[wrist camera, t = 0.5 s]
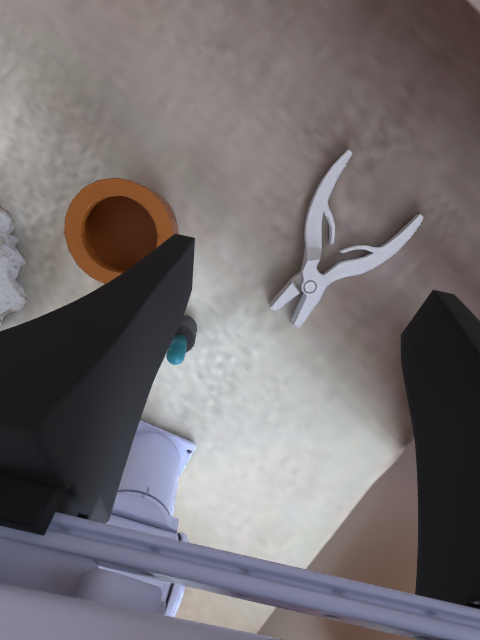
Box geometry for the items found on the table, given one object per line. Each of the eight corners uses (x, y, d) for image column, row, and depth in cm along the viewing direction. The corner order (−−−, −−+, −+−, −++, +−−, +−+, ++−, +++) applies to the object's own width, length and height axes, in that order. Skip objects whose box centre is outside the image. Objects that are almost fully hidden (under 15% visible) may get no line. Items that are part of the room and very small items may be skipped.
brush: (189, 344, 36) (182, 379, 28) (165, 333, 35) (151, 366, 28) (201, 322, 35) (197, 352, 28) (177, 310, 35) (166, 337, 27)
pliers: (431, 219, 32) (323, 347, 35) (421, 219, 34) (319, 342, 37) (350, 145, 30) (242, 288, 33) (343, 149, 32) (241, 285, 34)
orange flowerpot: (154, 292, 34) (145, 304, 30) (71, 251, 33) (48, 257, 28) (193, 213, 32) (190, 212, 28) (107, 165, 31) (88, 157, 26)
